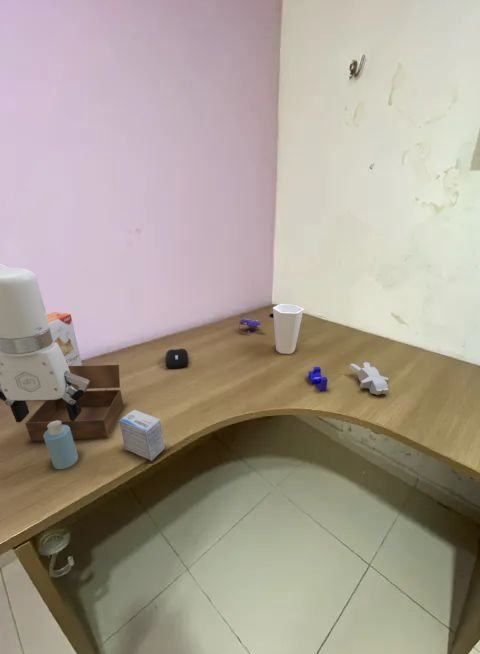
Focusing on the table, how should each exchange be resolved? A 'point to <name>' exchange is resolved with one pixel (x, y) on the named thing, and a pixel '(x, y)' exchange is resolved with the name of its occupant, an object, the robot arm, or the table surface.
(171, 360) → the computer mouse
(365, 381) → the bunny figurine
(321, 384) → the cable holder
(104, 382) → the flap
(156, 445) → the medicine box
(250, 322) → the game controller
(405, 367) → the table surface
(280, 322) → the cup
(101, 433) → the wooden box
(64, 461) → the bottle
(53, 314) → the cracker box
